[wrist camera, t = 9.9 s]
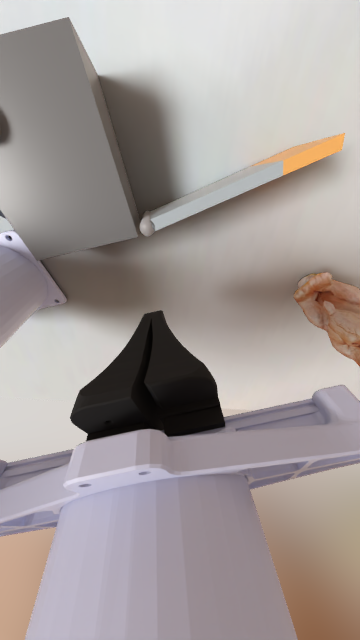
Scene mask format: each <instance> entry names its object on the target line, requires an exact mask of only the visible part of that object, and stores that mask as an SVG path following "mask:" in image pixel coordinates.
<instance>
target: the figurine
mask: <svg viewBox="0 0 360 640" xmlns="http://www.w3.org/2000/svg"><path fill="white" fill-rule="evenodd" d="M298 288H299V289H298V290H296V291H295V293H294V299H295V300H296V301H297V303H298V304H299V305H300V306H301V308H302V309H303V312H304V314H305V315H306V317H307V318H308V320H309V321H310V322H311V323H312V324H314V325H315V326H317V327H319V328H321V329H324V330H326V331H327V332H328V336H329V338H330V340H331V343H332V346H333V347H334V348H335V349H336V350H337V351H339V352H340V353H341V354H343V355H344V356H346V357H348V358H350V359H353V360H354V361H355V362H356V363H357V364H358V365H359V366H360V289H359V288H357V287H355V286H352V285H349V284H346V283H342V282H339V281H336V280H333V279H332V275H331V274H330V273H329V272H326V273H319V274H310V275H308V276H305V277H304V278H302V279H301V280H300V281H299V282H298Z"/></svg>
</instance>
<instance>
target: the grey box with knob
mask: <svg viewBox="0 0 360 640" xmlns="http://www.w3.org/2000/svg"><path fill="white" fill-rule="evenodd" d="M0 216H2V217H4V218H6V219H7V220H8V221H9V223H10V224H11V226H12V227H13V228H14V230H15V231H16V232H17V234H18V235H19V237H20V238H21V239H22V241H23V242H24V244H25V245H26V246H27V248H28V249H29V251H30V252H31V253H32V255H33V256H34V257H35V259H36V260H37V261H38V260H42V259H47V258H51V257H55V256H59V255H64V254H68V253H72V252H77V251H81V250H85V249H89V248H94V247H98V246H102V245H107V244H111V243H115V242H119V241H124V240H128V239H132V238H136V237H138V235H139V232H140V223H141V222H140V218H139V215H138V212H137V208H136V205H135V201H134V198H133V194H132V191H131V188H130V184H129V181H128V177H127V174H126V170H125V167H124V163H123V160H122V157H121V153H120V150H119V146H118V143H117V139H116V136H115V133H114V129H113V126H112V122H111V119H110V115H109V112H108V109H107V105H106V102H105V98H104V95H103V91H102V88H101V85H100V81H99V78H98V74H97V72H96V70H95V68H94V66H93V64H92V62H91V60H90V58H89V56H88V54H87V52H86V51H85V49H84V47H83V45H82V43H81V41H80V39H79V37H78V35H77V33H76V31H75V29H74V27H73V25H72V23H71V21H70V19H69V17H67V18H63V19H59V20H55V21H52V22H48V23H44V24H40V25H36V26H32V27H28V28H25V29H21V30H17V31H13V32H9V33H5V34H2V35H0Z"/></svg>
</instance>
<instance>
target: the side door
mask: <svg viewBox="0 0 360 640" xmlns="http://www.w3.org/2000/svg"><path fill="white" fill-rule="evenodd" d="M344 135H345V133H343V134H339V135H336V136H332V137H328V138H324V139H321V140H317V141H313V142H310V143H306V144H302V145H298V146H295V147H292V148H290V149H288V150H285V151H283V152H281V153H279V154H276V155H274V156H272V157H270V158H268V159H265V160H263V161H261V162H259V163H257V164H254V165H252V166H250V167H248V168H245V169H243V170H241V171H239V172H237V173H234V174H232V175H230V176H228V177H226V178H223V179H221V180H219V181H217V182H214V183H212V184H210V185H208V186H206V187H203V188H201V189H199V190H197V191H195V192H192V193H190V194H188V195H186V196H183V197H181V198H179V199H177V200H175V201H172V202H170V203H168V204H166V205H164V206H161V207H159V208H157V209H155V210H152V211H146V212H144V214H143V217H142V220H141V223H140V231H141V232H142V234H144V235H145V236H151V235H152V234H153V233H154V232H155V231H157V230H159V229H161V228H164V227H166V226H168V225H171V224H173V223H175V222H177V221H180V220H182V219H184V218H187V217H189V216H191V215H194V214H196V213H198V212H200V211H203V210H205V209H207V208H210V207H212V206H214V205H217V204H219V203H221V202H223V201H226V200H228V199H230V198H233V197H235V196H237V195H240V194H242V193H244V192H246V191H249V190H251V189H253V188H256V187H258V186H260V185H263V184H265V183H267V182H269V181H272V180H274V179H276V178H279V177H281V176H283V175H286V174H288V173H290V172H292V171H295V170H297V169H299V168H302V167H304V166H306V165H308V164H311V163H313V162H315V161H318V160H320V159H322V158H325V157H327V156H329V155H331V154H334V153H336V152H338V151H341V150H342V146H343V140H344Z"/></svg>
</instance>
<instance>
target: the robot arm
mask: <svg viewBox="0 0 360 640" xmlns="http://www.w3.org/2000/svg"><path fill="white" fill-rule="evenodd" d="M8 235H9V236H11V237H12V240H11V239H10V238H9V237H8ZM56 299H57V300H59V301H57V300H56ZM66 301H67V299H66V297H65V295H64V294H63V293H62V291H61V290H60V288H59V287H58V286H57V284H56V283H55V281H54V280H53V279H52V277H51V276H50V274H49V273H48V271H47V270H46V269H45V267H44V266H43V264H42V263H41V262H40V260H38V261H37V260H36V259H35V257H34V256H33V255H32V253H31V252H30V251H29V249H28V248H27V246H26V245H25V244H24V242H23V241H22V239H21V238H20V237H19V235H18V234H17V232H16V231H15V230H11V231H6V232H2V233H0V348H1V347H2V346H3V345H4V344H5V343H6V342H7V341H8V339H9V338H10V337H11V336H12V335H13V334H14V333H15V332H16V331H17V330H18V329H19V328H20V327H21V326H22V324H23V323H24V322H25V321H26V320H27V319H28V318H29V317H30V316H31V315H32V314H33V313H34V312H35V311H36V310H37V309H42V308H46V307H51V306H55V305H59V304H64V303H65V302H66ZM70 419H71V421H72V423H73V424H74V425H76V426H77V427H78V428H80V429H81V430H83V431H85V432H86V433H87V434H88V436H87V440H86V442H84V443H81V444H79V445H78V446H77V447H76V448H75V449H72V450H67V451H62V452H57V453H53V454H48V455H43V456H39V457H35V458H29V459H24V460H20V461H16V462H10V463H7V462H6V461H3V460H0V537H1V536H6V535H12V534H18V533H24V532H29V531H36V530H42V529H48V528H54V527H56V531H55V534H54V538H53V541H52V545H51V548H50V552H49V556H48V559H47V563H46V566H45V570H44V573H43V577H42V581H41V584H40V587H39V591H38V594H37V598H36V602H35V605H34V609H33V612H32V616H31V620H30V623H29V627H28V630H27V634H26V637H25V640H298V639H297V636H296V633H295V630H294V626H293V623H292V620H291V617H290V614H289V611H288V608H287V604H286V602H285V598H284V595H283V592H282V589H281V586H280V582H279V579H278V576H277V573H276V570H275V567H274V564H273V561H272V557H271V554H270V551H269V548H268V545H267V542H266V538H265V535H264V532H263V529H262V526H261V523H260V520H259V516H258V513H257V510H256V507H255V504H254V501H253V498H252V494H251V492H250V489H254V488H258V487H262V486H266V485H270V484H274V483H278V482H282V481H286V480H290V479H294V478H298V477H302V476H306V475H310V474H314V473H318V472H322V471H326V470H330V469H335V468H339V467H344V466H348V465H353V464H358V463H360V401H359V400H358V399H357V398H356V397H355V396H354V395H353V394H352V393H351V392H350V391H349V390H348V389H347V387H346V386H345V385H338V386H333V387H328V388H324V389H320V390H318V391H316V392H315V393H314V394H313V396H312V399H307V400H303V401H298V402H293V403H288V404H284V405H279V406H274V407H270V408H265V409H260V410H255V411H251V412H246V413H241V414H236V415H232V416H227V417H223V414H222V410H221V407H220V402H219V399H218V393H217V385H216V382H215V380H214V378H213V376H212V375H211V373H210V372H209V370H208V369H207V367H206V366H205V365H204V363H202V362H201V361H200V360H198V359H197V358H196V357H194V356H193V355H192V354H191V353H190V352H189V351H188V350H187V349H186V348H185V347H183V346H182V344H181V343H180V342H179V341H178V340H177V339H176V337H175V336H174V335H173V333H172V332H171V330H170V329H169V327H168V325H167V323H166V320H165V317H164V314H163V311H161V310H160V311H156V312H151V313H147V314H144V316H143V318H142V320H141V322H140V324H139V325H138V327H137V329H136V331H135V333H134V334H133V336H132V337H131V339H130V341H129V342H128V344H127V345H126V346H125V348H124V349H123V350H122V352H121V353H120V354H119V355H118V356H117V357H116V358H115V360H114V361H113V362H112V363H111V364H110V365H109V366H108V367H107V368H106V369H105V370H104V371H103V372H102V373H100V374H99V375H98V376H97V377H96V378H95V379H94V380H92V381H91V382H90V383H89V384H87V385H86V386H85V387H84V388H82V389H81V390H80V391H79V394H78V396H77V399H76V402H75V404H74V408H73V410H72V413H71V417H70Z"/></svg>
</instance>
